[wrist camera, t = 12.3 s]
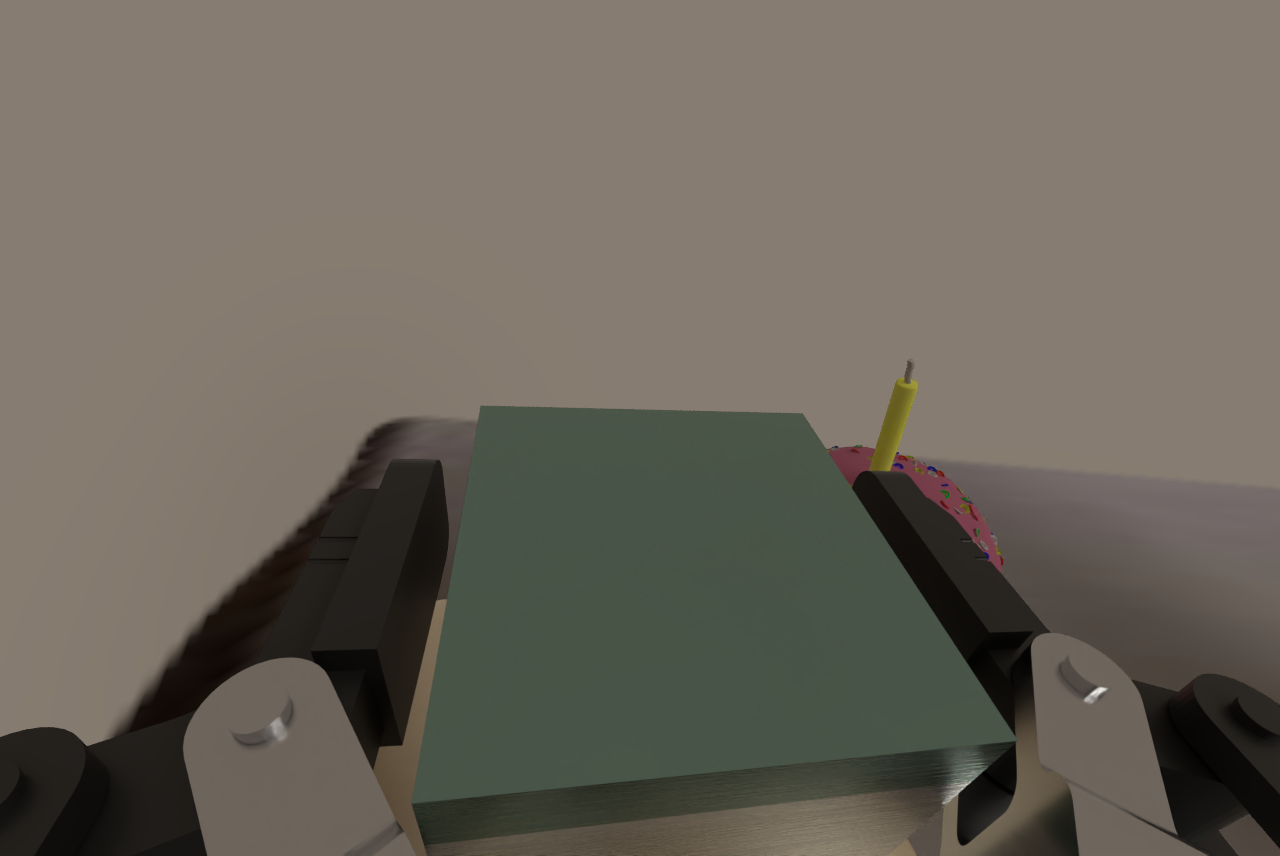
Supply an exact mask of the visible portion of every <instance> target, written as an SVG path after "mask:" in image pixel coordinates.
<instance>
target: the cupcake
mask: <svg viewBox="0 0 1280 856" xmlns="http://www.w3.org/2000/svg"><path fill="white" fill-rule="evenodd" d="M907 363H908V364H907V368H906V371H905V377H904V378H899V379H898V380H897V381H896V383H895V386H894V390H893V393H892V396H891V399H890V403H889V406H888V409H887V413H886V416H885V419H884V422H883V426H882V429H881V432H880V436H879V439H878V442H877V445H876V449H873V448H868V447H862V445H856V446H855V447H843V448H838V446H835V447H832V448H830V449H826V450H827V451H828V453H829V454H830V456H831V457H832V459H833V461H834V462H835V464H836V465H837V467H838V468H839V470H840V471H841V473H842V474H843V476H844V477H845V479H846V480H847V482H848V483H849V485H850V486H851V488H852V486H853V484H854V481H855V479H856V477H857V476H858V475H859V474H860V473H861V472H863V471H900V472H904V473H906V474H907V475H909V476H910V478H911V479H912V480H913V481H914V482H915V484H916V485H917V486H918V487H919V489H920V490H921V491H922V492H923V494H924V495H925V496H926V497H927V498H930V499H931V500H932V501H934V502H935V503H936V504H938V505H939V506H940V507H942V508H943V509H944V510H946V511H947V512H948V513H950V514H951V515H952V516H954V517H955V519H956V520H957V521H958V522H959V523H960V525H961V526H962V527H963V528H964V529H965V531H966V532H967V533H968V534H969V535H970V537H971V538H972V543H976V544H977V545H978V546H979V547H980V549H981V550H982V551H983V552H984V554H985V555H986V556H987V561H991V562H992V563H993V564H994V566H995V567H996V568H997V569H998V570H999V572H1000V573H1001V565H1003V559H1002V557H1001V556H1000V554H1001V552H1000V550H999V548H998V547H997V546H996V545H997V544H998V540H997V538H996V536H994V535H993V534H992V533H991V532H990V530H989V528H988V526H987V524H986V520H985V519H984V518H983V517H982V516H981V514H980V513H979V511H978V510H977V508H976V507H975V506H974V505H973V503H972V502H971V501H970V500H969V497H967V496H966V495H965V494H964V493H963V492H962V490H961V489H960V488H959V487H957V486H956V485H955V484H954V483H953V482H952V481H951V480H949V479H948V478H946V477H945V476H944V474H943V472H941V471H938V470H936V469H935V468H934V467H931V466H929V467H927V466H926V465H925V464H924V463H923V462H918V461H916V460H914V458H913V457H911V456H902V455H898V454H899V453H898V452H897V448H898V446H899V442H900V440H901V436H902V434H903V431H904V427H905V425H906V422H907V419H908V416H909V413H910V410H911V407H912V404H913V401H914V398H915V395H916V392H917V389H918V383H917V382H916V381H915V380H913V379H911V378H912V373H913V370H914V365H915V364H914V360H912V359H909V360H908V361H907ZM896 452H897V453H896ZM930 468H932V469H933V470H932V469H930ZM994 539H995V540H994ZM1000 559H1001V560H1000Z"/></svg>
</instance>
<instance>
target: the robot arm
mask: <svg viewBox="0 0 1280 856" xmlns="http://www.w3.org/2000/svg"><path fill="white" fill-rule="evenodd" d="M852 489H853V491H854V492H855V494H856V495H857V497H858V498H859V500H860V502H861V503H862V505H863V506H864V508H865V509H866V511H867V512H868V514H869V515H870V517H871V518H872V520H873V521H874V523H875V524H876V526H877V527H878V529H879V530H880V532H881V533H882V535H883V536H884V538H885V539H886V541H887V543H888V544H889V546H890V547H891V549H892V550H893V552H894V553H895V555H896V556H897V558H898V559H899V561H900V562H901V564H902V565H903V567H904V568H905V570H906V571H907V573H908V574H909V576H910V577H911V579H912V580H913V582H914V584H915V585H916V587H917V588H918V590H919V591H920V593H921V594H922V596H923V597H924V599H925V600H926V602H927V603H928V605H929V606H930V608H931V609H932V611H933V612H934V614H935V615H936V617H937V618H938V620H939V621H940V623H941V625H942V626H943V628H944V629H945V631H946V632H947V634H948V635H949V637H950V638H951V640H952V641H953V643H954V644H955V646H956V647H957V649H958V650H959V652H960V653H961V655H962V656H963V658H964V659H965V661H966V662H967V664H968V665H969V667H970V669H971V670H972V672H973V673H974V675H975V676H976V678H977V679H978V681H979V682H980V684H981V685H982V687H983V688H984V690H985V691H986V693H987V694H988V696H989V697H990V699H991V700H992V702H993V703H994V705H995V706H996V708H997V710H998V711H999V713H1000V714H1001V716H1002V717H1003V719H1004V720H1005V722H1006V723H1007V725H1008V726H1009V728H1010V729H1011V731H1012V732H1013V734H1014V735H1015V737H1016V738H1017V740H1018V741H1017V742H1016V743H1015V744H1014V745H1013V746H1012V747H1011V748H1009V749H1008V750H1007V751H1006V752H1005V753H1004V754H1003V755H1001V756H1000V757H999V758H998V759H997V760H996V761H995V762H993V763H992V764H991V765H990V766H989V767H988V768H987V769H986V770H984V771H983V772H982V773H981V774H980V775H979V776H978V777H976V778H975V779H974V780H973V781H972V782H971V783H970V784H968V785H967V786H966V787H965V788H964V789H963V790H962V791H961V792H959V793H958V794H957V795H956V796H955V797H954V798H953V799H951V800H950V801H949V802H948V803H947V804H946V805H945V806H944V811H943V826H942V840H941V849H940V854H939V856H1238V855H1237V854H1236V852H1235V851H1234V850H1233V849H1232V847H1231V846H1230V845H1229V844H1228V842H1227V841H1226V840H1225V839H1224V837H1223V836H1222V835H1221V834H1220V833H1219V831H1218V830H1220V829H1222V828H1224V827H1225V826H1227V825H1229V824H1231V823H1233V822H1234V821H1236V820H1238V819H1240V818H1242V817H1244V816H1245V815H1247V814H1250V815H1251V816H1252V817H1253V818H1254V819H1255V821H1256V822H1257V823H1258V824H1259V825H1260V826H1261V827H1262V829H1263V830H1264V831H1265V832H1266V833H1267V834H1268V836H1269V837H1270V838H1271V839H1272V840H1273V841H1274V843H1275V844H1276V845H1277V846H1278V847H1279V848H1280V705H1279V704H1277V703H1276V702H1274V701H1273V700H1271V699H1270V698H1269V697H1267V696H1265V695H1264V694H1262V693H1261V692H1259V691H1257V690H1255V689H1254V688H1252V687H1250V686H1248V685H1246V684H1244V683H1241V682H1239V681H1237V680H1234V679H1231V678H1229V677H1226V676H1221V675H1217V674H1202V675H1200V676H1198V677H1196V678H1195V679H1194V680H1193V681H1191V682H1190V683H1189V684H1188V685H1186V686H1185V687H1184V688H1183V689H1181V690H1180V691H1179V692H1176V691H1172V690H1169V689H1165V688H1161V687H1157V686H1153V685H1150V684H1146V683H1142V682H1138V681H1135V680H1131V679H1130V678H1129V677H1128V676H1127V675H1126V673H1125V672H1124V671H1123V670H1122V669H1121V668H1120V667H1119V666H1118V665H1117V664H1116V663H1114V662H1113V661H1112V660H1111V659H1110V658H1108V657H1107V656H1106V655H1104V654H1103V653H1101V652H1100V651H1099V650H1097V649H1095V648H1094V647H1092V646H1090V645H1089V644H1087V643H1085V642H1083V641H1081V640H1078V639H1076V638H1073V637H1071V636H1067V635H1063V634H1058V633H1050V632H1049V631H1048V629H1047V628H1046V627H1045V626H1044V625H1043V623H1042V622H1041V621H1040V620H1039V619H1038V617H1037V616H1036V615H1035V614H1034V613H1033V611H1032V610H1031V609H1030V608H1029V607H1028V605H1027V604H1026V603H1025V602H1024V601H1023V599H1022V598H1021V597H1020V596H1019V595H1018V593H1017V592H1016V591H1015V590H1014V588H1013V587H1012V586H1011V585H1010V584H1009V582H1008V581H1007V580H1006V579H1005V578H1004V576H1003V575H1002V574H1001V573H1000V572H999V570H998V569H997V568H996V567H995V566H994V564H993V563H992V562H991V561H987V556H986V555H985V554H984V552H983V551H982V550H981V549H980V547H979V546H978V545H977V544H976V543H972V538H971V537H970V535H969V534H968V533H967V532H966V531H965V529H964V528H963V527H962V526H961V525H960V523H959V522H958V521H957V520H956V519H955V517H954V516H952V515H951V514H950V513H948V512H947V511H946V510H944V509H943V508H942V507H940V506H939V505H938V504H936V503H935V502H934V501H932V500H931V499H930V498H927V497H926V496H925V495H924V494H923V492H922V491H921V490H920V489H919V487H918V486H917V485H916V484H915V482H914V481H913V480H912V479H911V478H910V476H909V475H907V474H906V473H904V472H900V471H863V472H861V473H860V474H859V475H858V476H857V477H856V479H855V481H854V484H853V486H852ZM448 539H449V524H448V514H447V505H446V497H445V488H444V479H443V470H442V465H441V462H440V460H427V459H393V460H392V461H391V462H390V464H389V466H388V468H387V471H386V473H385V475H384V478H383V480H382V482H381V485H380V487H379V489H356V490H355V491H354V492H353V493H352V494H350V495H349V496H348V497H347V498H346V499H345V500H344V501H343V502H341V503H340V504H339V505H338V506H337V507H336V508H335V509H333V510H332V512H331V514H330V516H329V518H328V520H327V522H326V524H325V526H324V528H323V530H322V532H321V534H320V536H319V542H316V544H315V546H314V548H313V550H312V552H311V554H310V556H309V558H308V564H305V566H304V568H303V570H302V572H301V574H300V576H299V578H298V580H297V582H296V584H295V586H294V588H293V590H292V592H291V594H290V596H289V598H288V599H287V601H286V603H285V605H284V607H283V609H282V611H281V613H280V615H279V617H278V619H277V621H276V623H275V625H274V627H273V629H272V631H271V633H270V635H269V637H268V639H267V641H266V643H265V645H264V647H263V649H262V651H261V653H260V654H259V656H258V658H257V660H256V661H255V662H254V664H253V665H252V666H251V667H249V668H247V669H245V670H243V671H241V672H239V673H238V674H236V675H234V676H232V677H231V678H230V679H228V680H227V681H225V682H224V683H223V684H221V685H220V686H219V687H218V688H217V689H216V690H214V691H213V692H212V693H211V694H210V695H209V696H208V697H207V698H206V700H205V701H204V702H203V703H202V704H201V705H200V707H199V708H198V709H196V710H194V711H192V712H190V713H188V714H186V715H183V716H180V717H177V718H175V719H172V720H169V721H166V722H163V723H159V724H156V725H153V726H150V727H147V728H144V729H140V730H137V731H134V732H131V733H128V734H124V735H121V736H118V737H115V738H112V739H109V740H105V741H102V742H99V743H96V744H93V745H90V746H86V745H85V744H84V743H83V742H82V741H81V740H80V739H79V738H78V737H77V736H76V735H75V734H74V733H72V732H69V731H67V730H65V729H60V728H54V727H40V728H34V729H26V730H22V731H19V732H15V733H11V734H8V735H6V736H2V737H0V856H416V854H415V852H414V850H413V848H412V846H411V844H410V842H409V840H408V838H407V836H406V834H405V833H404V831H403V829H402V827H401V826H400V825H399V824H398V822H397V821H396V819H395V817H394V815H393V813H392V811H391V809H390V807H389V804H388V802H387V800H386V798H385V796H384V794H383V792H382V790H381V787H380V785H379V783H378V781H377V779H376V777H375V775H374V772H373V770H374V766H375V762H376V758H377V755H378V751H379V747H386V746H402V745H403V741H404V737H405V732H406V728H407V724H408V720H409V715H410V711H411V707H412V703H413V698H414V694H415V690H416V685H417V681H418V677H419V673H420V668H421V664H422V660H423V655H424V651H425V647H426V643H427V638H428V634H429V630H430V625H431V621H432V617H433V613H434V608H435V604H436V600H437V596H438V591H439V587H440V583H441V578H442V574H443V570H444V566H445V561H446V557H447V550H448Z"/></svg>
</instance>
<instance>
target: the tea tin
mask: <svg viewBox="0 0 1280 856" xmlns="http://www.w3.org/2000/svg"><path fill="white" fill-rule="evenodd" d="M1017 741H1018V740H1017V738H1016V737H1015V735H1014V734H1013V732H1012V731H1011V729H1010V728H1009V726H1008V725H1007V723H1006V722H1005V720H1004V719H1003V717H1002V716H1001V714H1000V713H999V711H998V710H997V708H996V706H995V705H994V703H993V702H992V700H991V699H990V697H989V696H988V694H987V693H986V691H985V690H984V688H983V687H982V685H981V684H980V682H979V681H978V679H977V678H976V676H975V675H974V673H973V672H972V670H971V669H970V667H969V665H968V664H967V662H966V661H965V659H964V658H963V656H962V655H961V653H960V652H959V650H958V649H957V647H956V646H955V644H954V643H953V641H952V640H951V638H950V637H949V635H948V634H947V632H946V631H945V629H944V628H943V626H942V625H941V623H940V621H939V620H938V618H937V617H936V615H935V614H934V612H933V611H932V609H931V608H930V606H929V605H928V603H927V602H926V600H925V599H924V597H923V596H922V594H921V593H920V591H919V590H918V588H917V587H916V585H915V584H914V582H913V580H912V579H911V577H910V576H909V574H908V573H907V571H906V570H905V568H904V567H903V565H902V564H901V562H900V561H899V559H898V558H897V556H896V555H895V553H894V552H893V550H892V549H891V547H890V546H889V544H888V543H887V541H886V539H885V538H884V536H883V535H882V533H881V532H880V530H879V529H878V527H877V526H876V524H875V523H874V521H873V520H872V518H871V517H870V515H869V514H868V512H867V511H866V509H865V508H864V506H863V505H862V503H861V502H860V500H859V498H858V497H857V495H856V494H855V492H854V491H853V489H852V488H851V486H850V485H849V483H848V482H847V480H846V479H845V477H844V476H843V474H842V473H841V471H840V470H839V468H838V467H837V465H836V464H835V462H834V461H833V459H832V457H831V456H830V454H829V453H828V451H827V450H826V448H825V447H824V445H823V444H822V442H821V441H820V439H819V438H818V436H817V435H816V433H815V432H814V430H813V429H812V427H811V426H810V424H809V423H808V421H807V420H806V418H805V417H804V415H803V414H796V413H758V412H716V411H676V410H675V411H674V410H633V409H594V408H552V407H511V406H481V408H480V413H479V419H478V425H477V430H476V436H475V442H474V447H473V453H472V459H471V465H470V470H469V476H468V482H467V487H466V493H465V499H464V505H463V510H462V516H461V522H460V527H459V533H458V539H457V545H456V550H455V556H454V562H453V567H452V573H451V579H450V585H449V590H448V596H447V602H446V607H445V613H444V619H443V624H442V630H441V636H440V642H439V647H438V653H437V659H436V664H435V670H434V676H433V682H432V687H431V693H430V699H429V704H428V710H427V716H426V722H425V727H424V733H423V739H422V744H421V750H420V756H419V762H418V767H417V773H416V779H415V784H414V790H413V796H412V802H411V805H412V808H413V811H414V815H415V818H416V821H417V824H418V827H419V831H420V834H421V837H422V840H423V843H424V847H425V850H426V853H427V856H888V855H889V854H890V853H891V852H892V851H894V850H895V849H896V848H897V847H898V846H899V845H900V844H901V843H903V842H904V841H905V840H906V839H907V838H908V837H909V836H911V835H912V834H913V833H914V832H915V831H916V830H917V829H919V828H920V827H921V826H922V825H923V824H924V823H925V822H926V821H928V820H929V819H930V818H931V817H932V816H933V815H934V814H936V813H937V812H938V811H939V810H940V809H941V808H942V807H944V806H945V805H946V804H947V803H948V802H949V801H950V800H951V799H953V798H954V797H955V796H956V795H957V794H958V793H959V792H961V791H962V790H963V789H964V788H965V787H966V786H967V785H968V784H970V783H971V782H972V781H973V780H974V779H975V778H976V777H978V776H979V775H980V774H981V773H982V772H983V771H984V770H986V769H987V768H988V767H989V766H990V765H991V764H992V763H993V762H995V761H996V760H997V759H998V758H999V757H1000V756H1001V755H1003V754H1004V753H1005V752H1006V751H1007V750H1008V749H1009V748H1011V747H1012V746H1013V745H1014V744H1015V743H1016V742H1017Z"/></svg>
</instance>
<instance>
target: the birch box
mask: <svg viewBox="0 0 1280 856" xmlns="http://www.w3.org/2000/svg"><path fill="white" fill-rule="evenodd" d="M446 602H447V599H443V600H437V601H436V604H435V608H434V613H433V617H432V621H431V625H430V630H429V634H428V638H427V643H426V647H425V651H424V655H423V660H422V664H421V668H420V673H419V677H418V681H417V685H416V690H415V694H414V698H413V703H412V707H411V711H410V715H409V720H408V724H407V728H406V732H405V737H404V741H403V745H402V746H386V747H379V751H378V755H377V758H376V762H375V766H374V770H373V772H374V775H375V777H376V779H377V781H378V783H379V785H380V787H381V790H382V792H383V794H384V796H385V798H386V800H387V802H388V804H389V807H390V809H391V811H392V813H393V815H394V817H395V819H396V821H397V822H398V824H399V825H400V826H401V827H402V829H403V831H404V833H405V834H406V836H407V838H408V840H409V842H410V844H411V846H412V848H413V850H414V852H415V854H416V856H427V853H426V850H425V847H424V843H423V840H422V837H421V834H420V831H419V827H418V824H417V821H416V818H415V815H414V811H413V808H412V805H411V802H412V796H413V790H414V784H415V779H416V773H417V767H418V762H419V756H420V750H421V744H422V739H423V733H424V727H425V722H426V716H427V710H428V704H429V699H430V693H431V687H432V682H433V676H434V670H435V664H436V659H437V653H438V647H439V642H440V636H441V630H442V624H443V619H444V613H445V607H446ZM888 856H917V855H916V853H915V852H914V850H913V848H912V846H911V845H910V843H909V841H908V839H906V840H905V841H904V842H903V843H901V844H900V845H899V846H898V847H897V848H896V849H895V850H894V851H892V852H891V853H890V854H889V855H888Z"/></svg>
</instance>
